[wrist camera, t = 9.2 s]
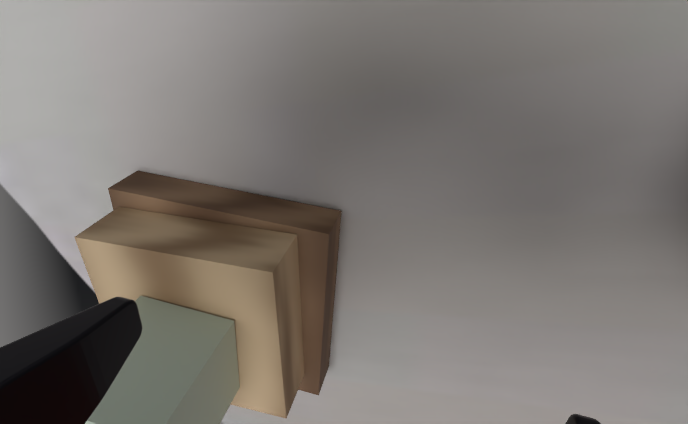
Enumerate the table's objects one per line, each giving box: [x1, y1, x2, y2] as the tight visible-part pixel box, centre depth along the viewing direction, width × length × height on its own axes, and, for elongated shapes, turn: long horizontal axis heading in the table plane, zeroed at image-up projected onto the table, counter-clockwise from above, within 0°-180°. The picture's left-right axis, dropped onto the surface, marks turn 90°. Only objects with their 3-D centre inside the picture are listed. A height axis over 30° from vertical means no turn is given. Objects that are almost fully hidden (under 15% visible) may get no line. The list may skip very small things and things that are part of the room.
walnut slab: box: [108, 171, 341, 395], centre depth 25 cm, size 12×12×3 cm
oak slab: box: [75, 207, 304, 418], centre depth 22 cm, size 10×10×3 cm
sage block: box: [85, 296, 240, 424], centre depth 19 cm, size 5×5×6 cm
